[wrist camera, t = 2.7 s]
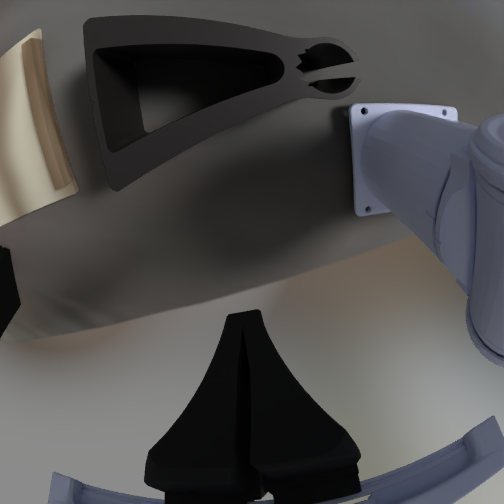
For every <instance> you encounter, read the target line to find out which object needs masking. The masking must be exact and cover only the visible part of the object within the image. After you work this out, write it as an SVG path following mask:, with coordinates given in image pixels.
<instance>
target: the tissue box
mask: <svg viewBox="0 0 504 504" xmlns="http://www.w3.org/2000/svg"><path fill="white" fill-rule="evenodd" d="M20 305H21V304H20V300H19V296H18V292H17V287H16V283H15V278H14V273H13V268H12V263H11V257H10V251H9V249H6V248H5V247H3V246H0V338H1V336H2V334H3V333H4V331H5V329H6V328H7V326H8V324H9V323H10V321H11V319H12V318H13V316H14V315H15V313H16V312H17V310H18V309H19V307H20Z"/></svg>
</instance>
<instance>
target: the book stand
mask: <svg viewBox="0 0 504 504" xmlns="http://www.w3.org/2000/svg"><path fill="white" fill-rule="evenodd" d="M77 192H79V189H78V186H77V184H76V181H75V178H74V175H73V172H72V169H71V166H70V163H69V160H68V157H67V154H66V151H65V147H64V144H63V141H62V137H61V134H60V130H59V126H58V122H57V119H56V115H55V110H54V106H53V102H52V97H51V92H50V88H49V82H48V77H47V71H46V65H45V58H44V51H43V43H42V33H41V29H36V30H35V31H33V32H32V33H31V34H29V35H28V36H27V37H25V38H24V39H23V40H21V41H20V42H19V43H17V44H16V45H15V46H14V47H12V48H11V49H10V50H9V51H8V52H6V53H5V54H4V55H3V56H2V57H1V58H0V226H2V225H4V224H6V223H9V222H11V221H13V220H15V219H17V218H19V217H21V216H23V215H26V214H28V213H30V212H32V211H34V210H37V209H39V208H41V207H44V206H46V205H48V204H51V203H53V202H56V201H58V200H61V199H63V198H66V197H68V196H71V195H73V194H76V193H77Z"/></svg>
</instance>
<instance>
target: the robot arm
mask: <svg viewBox="0 0 504 504" xmlns="http://www.w3.org/2000/svg"><path fill="white" fill-rule="evenodd" d="M363 107H364V108H365V110H366V111H365V113H364V114H362V113H361V109H362V108H363ZM442 110H443V111H444V114H442ZM348 113H349V123H350V134H351V147H352V162H353V184H354V211H355V213H356V214H357V215H358V216H368V215H374V214H380V213H386V212H392V213H393V214H394V215H395V216H396V217H397V218H398V219H400V220H401V221H402V222H403V223H404V224H405V225H406V226H407V227H408V228H409V229H410V230H411V231H412V232H413V233H414V234H415V235H416V236H417V237H418V238H419V239H420V240H421V241H422V242H423V243H424V244H425V245H426V246H427V247H428V248H429V249H430V250H431V251H432V252H433V254H434V255H435V256H436V257H437V258H438V259H439V260H440V261H441V262H442V263H443V264H444V265H445V266H446V268H447V269H448V270H449V271H450V272H451V273H452V274H453V275H454V276H455V277H456V283H457V284H458V285H459V286H460V288H461V289H462V290H463V291H464V292H465V293H466V295H467V296H469V297H468V300H467V306H466V324H467V328H468V332H469V335H470V337H471V340H472V341H473V343H474V345H475V347H476V348H477V349H478V350H479V351H480V353H481V354H482V355H483V356H485V357H486V358H487V359H488V360H490V361H491V362H493V363H495V364H497V365H499V366H502V367H504V113H502V114H497V115H494V116H491V117H489V118H487V119H486V120H485V121H483V122H482V124H481V125H480V126H479V127H476V126H473V125H470V124H467V123H463V122H460V121H457V110H456V109H455V108H454V107H451V106H440V105H427V104H407V103H358V104H352V105H350V107H349V109H348ZM367 206H369V209H368V210H366V211H365V208H366V207H367ZM360 458H361V453H360V451H359V449H358V447H357V445H356V443H355V442H354V441H353V439H352V438H351V436H350V435H349V434H348V432H347V431H346V430H345V429H344V428H343V427H342V426H341V425H339V424H338V423H337V422H336V421H335V420H334V419H333V418H331V417H330V416H329V415H328V414H327V413H326V412H325V411H324V410H323V409H322V408H321V407H320V406H319V405H318V404H317V403H316V402H315V401H314V400H313V399H312V398H311V396H310V395H309V394H308V393H307V392H306V391H305V390H304V388H303V387H302V386H301V385H300V384H299V382H298V381H297V380H296V379H295V377H294V376H293V375H292V373H291V372H290V370H289V369H288V368H287V366H286V365H285V363H284V361H283V360H282V358H281V357H280V355H279V354H278V352H277V350H276V349H275V347H274V345H273V343H272V341H271V339H270V337H269V335H268V333H267V331H266V328H265V326H264V322H263V318H262V314H261V311H260V310H258V309H256V310H251V311H246V312H240V313H234V314H229V315H228V316H227V318H226V322H225V325H224V329H223V332H222V335H221V338H220V341H219V344H218V346H217V349H216V351H215V354H214V357H213V359H212V361H211V363H210V366H209V368H208V370H207V372H206V374H205V376H204V378H203V380H202V382H201V384H200V386H199V387H198V389H197V391H196V393H195V394H194V396H193V398H192V399H191V401H190V402H189V404H188V405H187V407H186V408H185V410H184V411H183V413H182V414H181V415H180V417H179V418H178V419H177V420H176V422H175V423H174V424H173V425H172V427H171V428H170V429H169V430H168V432H167V433H166V434H165V435H164V436H163V437H162V438H161V439H160V440H159V441H158V442H157V443H156V444H155V445H154V446H153V447H152V448H151V449H150V450H149V452H148V456H147V460H146V466H145V476H144V482H145V483H146V484H147V485H148V486H150V487H152V488H155V489H158V490H160V491H163V492H165V500H161V499H153V498H146V497H140V496H134V495H129V494H123V493H119V492H114V491H109V490H105V489H101V488H97V487H93V486H90V485H86V484H83V483H82V482H80V481H78V480H75V479H73V478H70V477H68V476H65V475H62V474H59V473H56V472H53V475H52V480H51V487H50V493H49V500H48V504H338V503H342V502H345V501H349V500H353V499H356V498H360V497H363V496H366V495H369V494H371V495H370V496H369V497H368V500H364V501H361V502H358V503H355V504H453V503H454V502H456V501H458V500H459V499H461V498H462V497H464V496H465V495H467V494H468V493H469V492H471V491H472V490H474V489H475V488H477V487H478V486H479V485H480V484H482V483H483V482H485V481H486V480H487V479H489V478H490V477H492V476H493V475H494V474H495V473H497V472H498V471H499V470H501V469H502V468H503V467H504V437H503V435H502V432H501V430H500V427H499V425H498V423H497V421H496V419H495V416H491V417H490V418H488V419H487V420H485V421H484V422H482V423H481V424H479V425H478V426H476V427H474V428H473V429H472V430H470V431H469V432H468V433H466V434H465V435H464V436H463V437H462V438H461V439H459V440H457V441H455V442H454V443H452V444H450V445H448V446H446V447H444V448H442V449H440V450H438V451H437V452H434V453H432V454H430V455H428V456H426V457H424V458H422V459H420V460H418V461H415V462H413V463H411V464H408V465H406V466H403V467H401V468H398V469H396V470H394V471H391V472H388V473H385V474H382V475H380V476H377V477H374V478H371V479H368V480H364V481H361V482H360V481H359V476H358V473H359V470H358V466H357V462H358V461H359V459H360ZM267 492H269V493H271V494H272V495H273V498H274V500H266V501H254V500H260V499H261V498H262V497H264V495H266V493H267Z"/></svg>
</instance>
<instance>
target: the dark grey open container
mask: <svg viewBox="0 0 504 504" xmlns="http://www.w3.org/2000/svg"><path fill="white" fill-rule="evenodd" d="M83 35H84V49H85V60H86V69H87V77H88V85H89V92H90V99H91V100H93V101H94V102H95V105H94V107H93V108H92V111H93V116H94V122H95V127H96V132H97V137H98V141H99V146H100V150H101V155H102V159H103V163H104V167H105V171H106V175H107V179H108V183H109V186H110V188H111V189H112V190H113V191H120V190H121V189H123V188H124V187H126V186H127V185H129V184H130V183H132V182H133V181H135V180H137V179H138V178H140V177H141V176H143V175H144V174H146V173H148V172H149V171H151V170H152V169H154V168H156V167H157V166H159V165H161V164H162V163H164V162H166V161H168V160H169V159H171V158H173V157H174V156H176V155H178V154H180V153H182V152H183V151H185V150H187V149H189V148H191V147H192V146H194V145H196V144H198V143H200V142H202V141H204V140H206V139H207V138H209V137H211V136H213V135H215V134H217V133H219V132H221V131H223V130H225V129H227V128H229V127H231V126H233V125H236V124H238V123H240V122H242V121H244V120H246V119H248V118H251V117H253V116H255V115H257V114H260V113H262V112H264V111H266V110H269V109H271V108H273V107H276V106H278V105H281V104H283V103H286V102H288V101H291V100H295V99H299V98H319V99H329V100H337V99H342V98H345V97H347V96H349V95H350V94H352V93H353V92H354V91H355V90H356V88H357V87H358V85H359V83H360V80H361V79H359V78H356V77H350V78H337V79H326V80H318V82H317V84H316V86H315V87H313V86H308V82H305V81H301V80H300V78H301V76H302V74H303V72H302V71H300V70H299V69H297V68H296V66H298V65H299V64H300V63H302V61H301V60H300V58H304V59H307V60H309V61H310V62H312V63H313V64H314V65H315V67H316V68H317V70H318V69H322V68H326V67H331V66H335V65H340V64H345V63H351V62H356V61H359V58H358V57H357V55H356V53H355V52H354V51H353V50H352V49H351V48H350V47H349V46H348V45H347V44H345V43H344V42H342V41H340V40H337V39H334V38H329V37H320V38H294V37H288V36H283V35H279V34H276V33H272V32H268V31H264V30H260V29H256V28H251V27H247V26H242V25H237V24H231V23H225V22H219V21H213V20H205V19H197V18H187V17H175V16H153V15H129V16H108V17H96V18H90V19H88V20H87V21H86V22H85V23H84V25H83ZM138 59H195V60H210V61H221V62H231V63H239V64H247V65H254V66H259V67H262V68H263V69H265V70H266V72H267V74H268V80H267V82H266V84H265V85H264V86H262V87H260V88H257V89H254V90H251V91H248V92H245V93H242V94H239V95H236V96H234V97H231V98H228V99H226V100H223V101H221V102H218V103H215V104H213V105H211V106H208V107H206V108H203V109H201V110H199V111H196V112H194V113H192V114H189V115H187V116H185V117H183V118H180V119H178V120H176V121H174V122H172V123H170V124H168V125H166V126H164V127H162V128H159V129H157V130H155V131H154V132H152V133H147V132H145V130H144V126H143V120H142V115H141V109H140V102H139V96H138V89H137V82H136V75H135V67H134V63H135V61H136V60H138Z"/></svg>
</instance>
